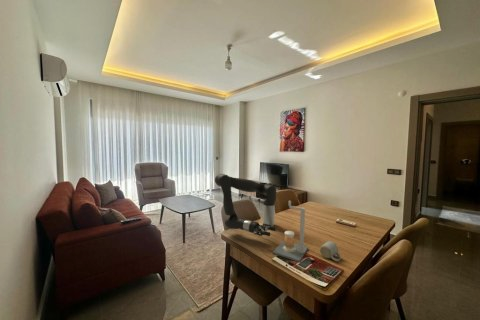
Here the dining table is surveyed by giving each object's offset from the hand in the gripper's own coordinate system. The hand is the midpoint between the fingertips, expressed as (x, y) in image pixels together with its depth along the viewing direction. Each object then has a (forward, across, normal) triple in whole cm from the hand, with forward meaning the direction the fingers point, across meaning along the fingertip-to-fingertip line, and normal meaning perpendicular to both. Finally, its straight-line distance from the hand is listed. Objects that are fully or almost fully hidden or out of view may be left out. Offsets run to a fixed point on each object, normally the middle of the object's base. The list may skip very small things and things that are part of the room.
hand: (272, 232), depth 129 cm
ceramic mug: (+34, +7, +9) cm, 36 cm away
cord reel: (+11, 0, +8) cm, 13 cm away
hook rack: (+12, 0, +9) cm, 15 cm away
